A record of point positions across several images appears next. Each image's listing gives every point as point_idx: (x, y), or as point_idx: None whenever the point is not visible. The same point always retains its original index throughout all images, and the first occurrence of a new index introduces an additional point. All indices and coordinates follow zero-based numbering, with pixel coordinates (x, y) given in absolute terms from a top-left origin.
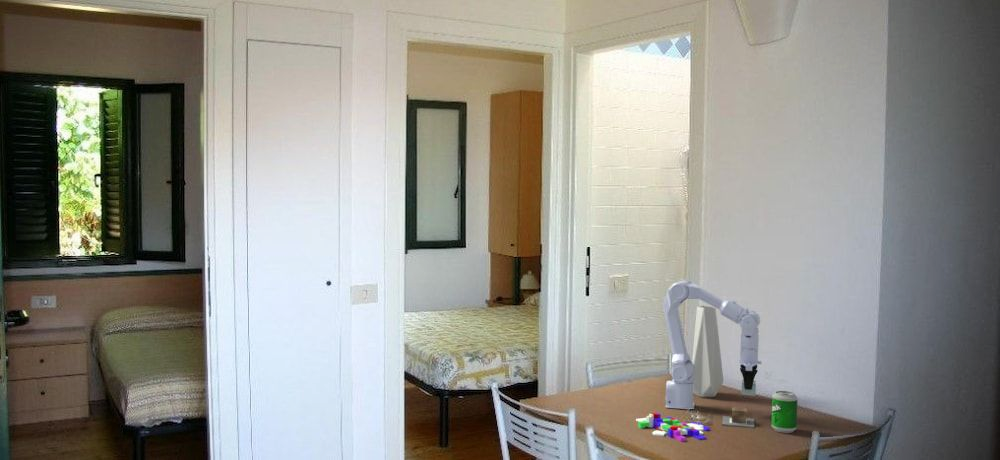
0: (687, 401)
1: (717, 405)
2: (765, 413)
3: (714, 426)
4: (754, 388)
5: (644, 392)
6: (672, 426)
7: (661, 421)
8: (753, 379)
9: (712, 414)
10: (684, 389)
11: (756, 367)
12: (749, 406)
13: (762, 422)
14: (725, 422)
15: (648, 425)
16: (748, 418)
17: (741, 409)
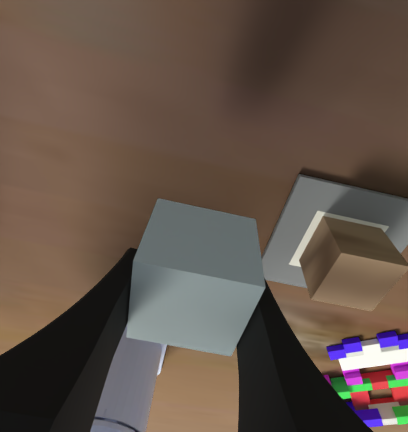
0: (155, 360)
1: (77, 256)
2: (166, 80)
3: (368, 315)
4: (257, 261)
5: None
6: (362, 392)
7: (363, 421)
8: (306, 355)
9: None
10: (148, 412)
11: (59, 419)
12: (38, 134)
13: (350, 145)
14: None
15: None
16: (295, 200)
17: (364, 277)
